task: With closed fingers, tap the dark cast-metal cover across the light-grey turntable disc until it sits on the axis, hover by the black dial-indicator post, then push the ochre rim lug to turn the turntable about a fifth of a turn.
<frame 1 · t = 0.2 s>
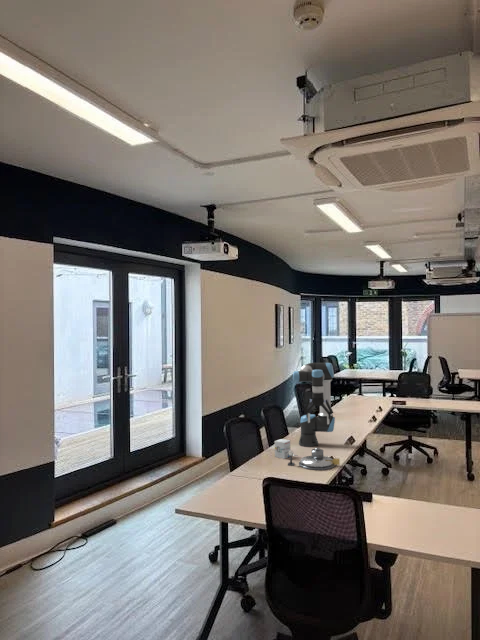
hand: (318, 423, 325), 27 cm above the table, fingers open, 13 cm apart
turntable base: (316, 464, 319), on the table
ink box: (282, 456, 341), on the table
dial post: (291, 464, 320), on the table
cover: (317, 457, 325), point 3 cm above the table, touching turntable
turntable: (319, 460, 318), point 3 cm above the table, hinge at 0.0°, touching cover
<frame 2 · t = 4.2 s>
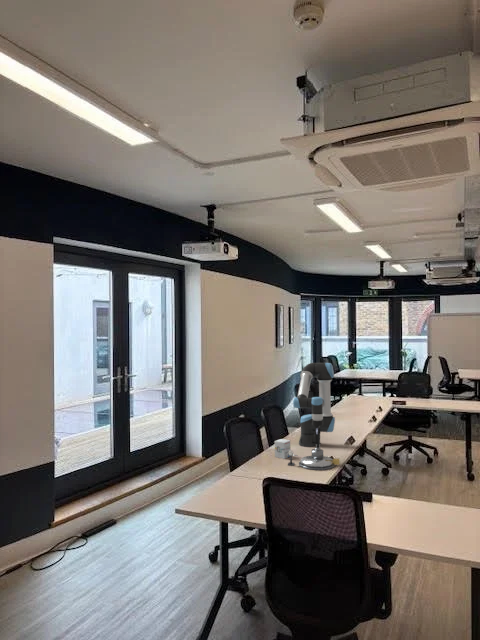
hand: (318, 453, 329), 5 cm above the table, fingers closed
cover: (317, 457, 324), point 3 cm above the table, touching gripper, turntable
everything else where it was.
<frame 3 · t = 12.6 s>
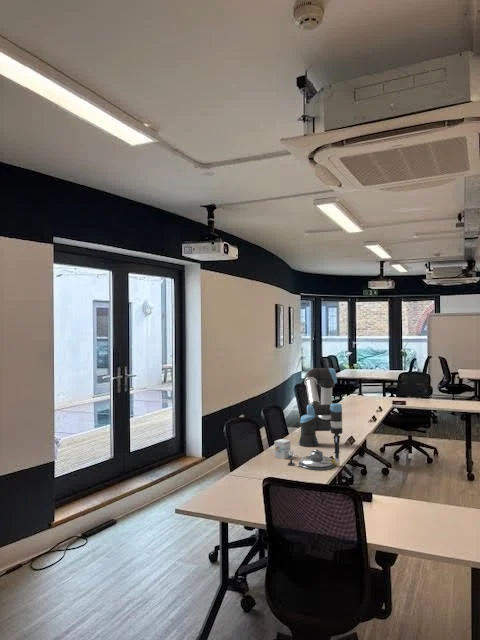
hand: (337, 462, 314), 3 cm above the table, fingers closed
cover: (316, 459, 319), point 3 cm above the table, touching turntable
turntable: (319, 460, 318), point 3 cm above the table, hinge at 1.2°, touching cover, gripper
everything else where it was.
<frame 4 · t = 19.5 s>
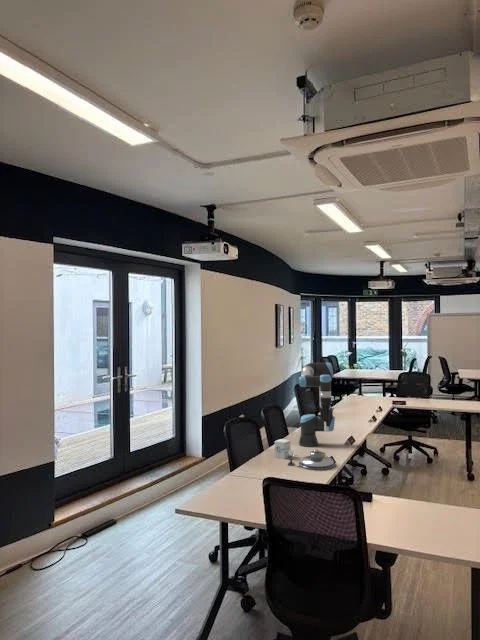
hand: (326, 430, 330), 20 cm above the table, fingers closed
turntable: (317, 459, 321), point 3 cm above the table, hinge at 76.3°, touching cover
everything else where it was.
at the end: cover 0.3 cm from the turntable (horizontally); turntable at +76° (first picture: +0°); cover tilted 1° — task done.
